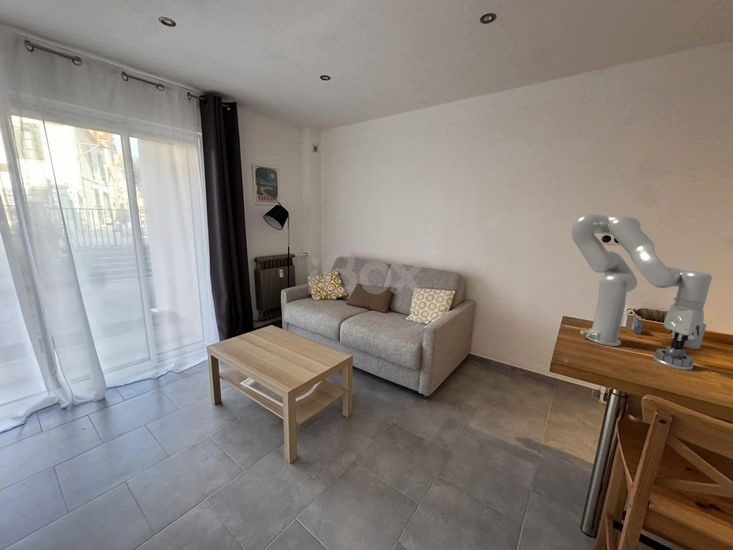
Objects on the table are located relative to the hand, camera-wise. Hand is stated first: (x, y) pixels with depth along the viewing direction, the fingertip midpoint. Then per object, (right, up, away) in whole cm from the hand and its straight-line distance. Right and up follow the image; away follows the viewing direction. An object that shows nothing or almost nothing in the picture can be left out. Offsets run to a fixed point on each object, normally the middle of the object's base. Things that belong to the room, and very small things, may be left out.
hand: (676, 348), depth 115 cm
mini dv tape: (+14, 0, +33) cm, 36 cm away
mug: (+24, -3, +19) cm, 31 cm away
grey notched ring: (0, -6, +1) cm, 6 cm away
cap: (0, -5, +1) cm, 5 cm away
